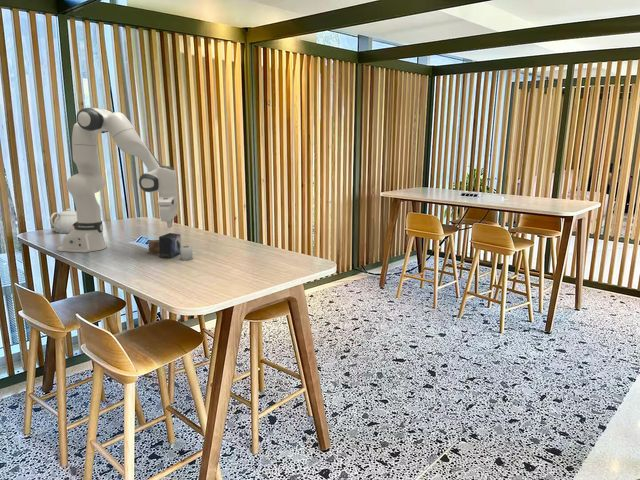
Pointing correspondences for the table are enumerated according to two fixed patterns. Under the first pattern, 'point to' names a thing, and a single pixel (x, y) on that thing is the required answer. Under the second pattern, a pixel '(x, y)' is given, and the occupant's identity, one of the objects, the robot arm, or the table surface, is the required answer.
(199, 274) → the table surface
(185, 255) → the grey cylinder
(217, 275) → the table surface
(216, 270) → the table surface
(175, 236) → the small box
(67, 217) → the teapot
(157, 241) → the walnut cube
